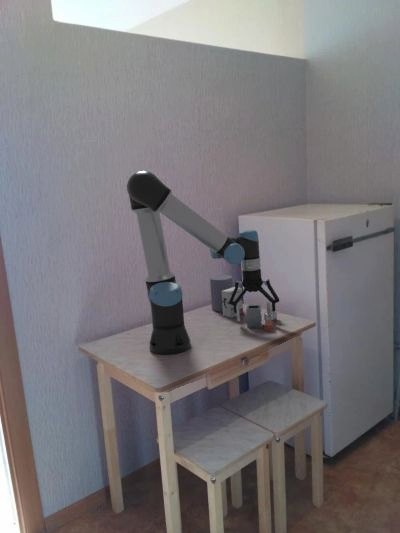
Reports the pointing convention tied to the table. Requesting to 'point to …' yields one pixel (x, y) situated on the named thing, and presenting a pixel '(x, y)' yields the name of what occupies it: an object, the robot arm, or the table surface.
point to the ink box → (228, 308)
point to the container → (219, 290)
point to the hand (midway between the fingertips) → (255, 319)
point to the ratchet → (269, 319)
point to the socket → (254, 316)
